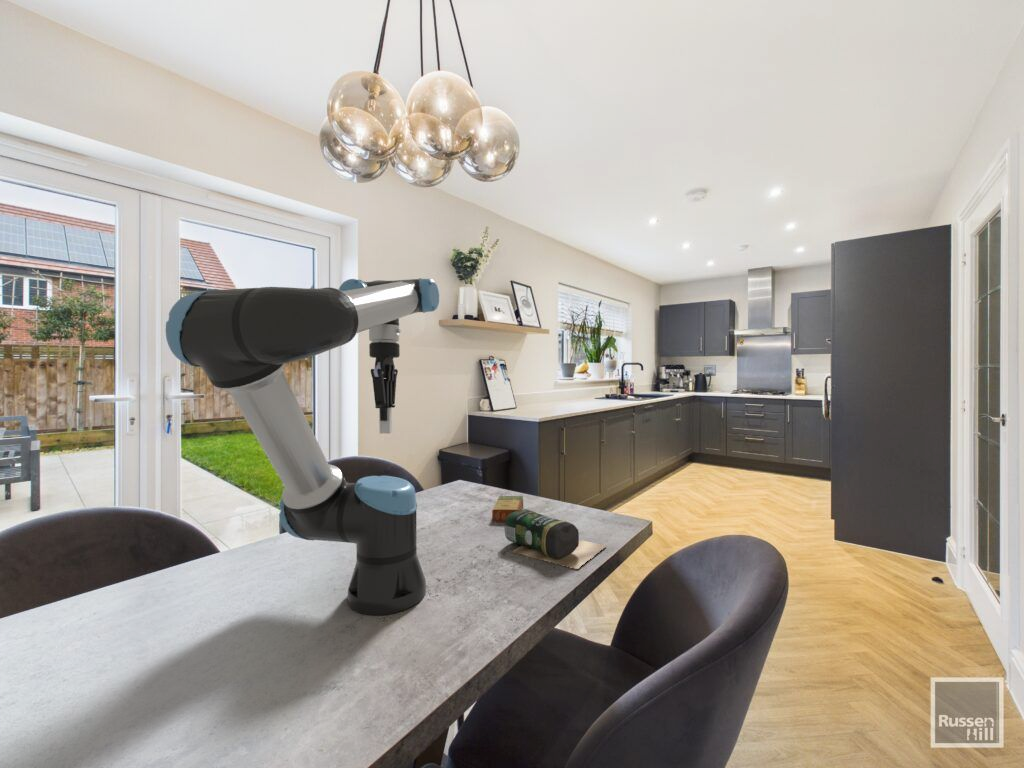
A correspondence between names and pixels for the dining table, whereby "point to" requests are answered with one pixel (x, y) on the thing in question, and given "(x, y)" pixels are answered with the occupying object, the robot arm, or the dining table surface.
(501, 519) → the carton
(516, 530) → the coffee jar
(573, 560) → the mat
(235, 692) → the dining table surface
